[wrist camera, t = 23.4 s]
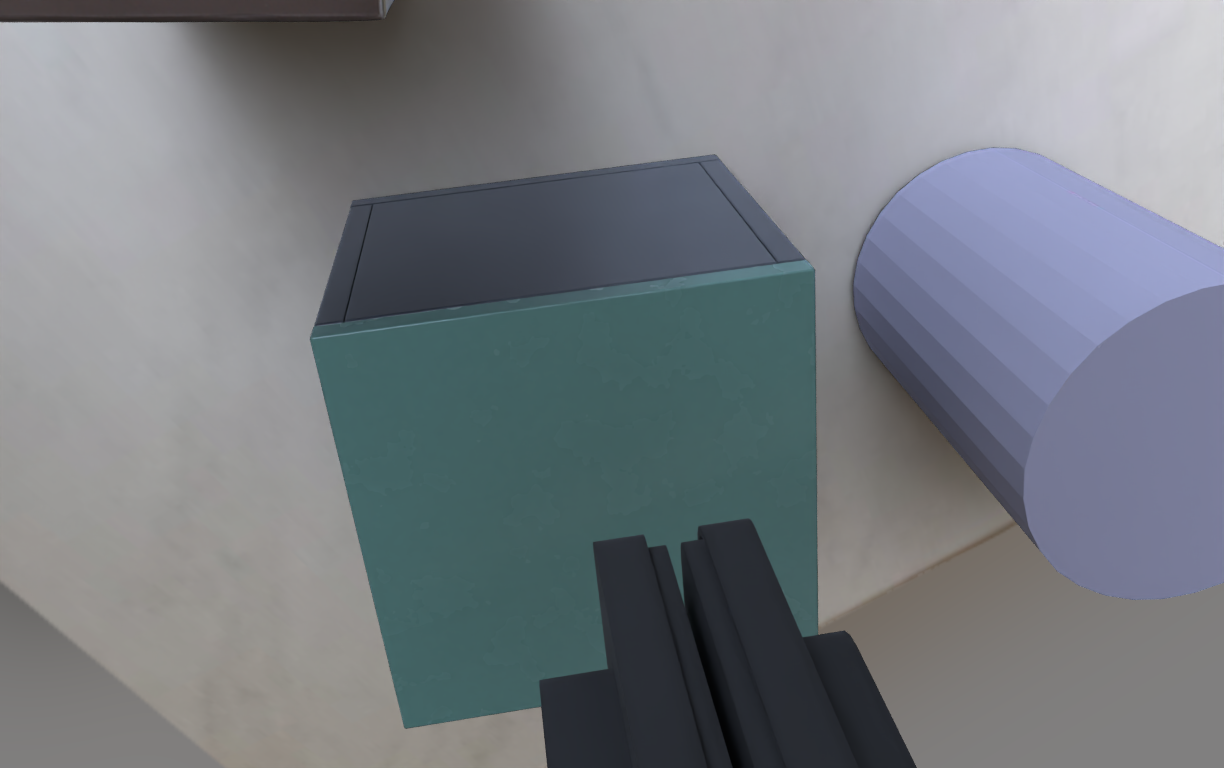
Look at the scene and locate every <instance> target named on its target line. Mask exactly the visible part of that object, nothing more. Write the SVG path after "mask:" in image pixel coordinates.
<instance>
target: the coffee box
mask: <svg viewBox="0 0 1224 768" xmlns="http://www.w3.org/2000/svg"><path fill="white" fill-rule="evenodd" d="M393 2H394V0H0V22H330V21H370V20H381V19H384V18H386V14H387V12H388V10H389V8H390V6H391V5H392V3H393Z"/></svg>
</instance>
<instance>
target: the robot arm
mask: <svg viewBox="0 0 1224 768" xmlns="http://www.w3.org/2000/svg"><path fill="white" fill-rule="evenodd" d="M697 538H698V540H694V541H688V542H682V543H681V564H682V578H683V591H684V603H683V599H682V596H681V593H680V589H679V586H678V583H677V579H676V576H675V572H674V569H673V566H672V562H671V559H670V556H669V552H668V549H667V546H666V545H662V546H655V547H649V548H648V546H647V542H646V539H645V536H644V535H643V534H642V535H636V536H629V537H623V538H616V539H609V540H603V541H596V542H593V551H594V559H595V568H596V576H597V584H598V592H599V601H600V609H601V617H602V625H603V634H604V642H605V650H606V658H607V667H608V669H604V670H598V671H592V672H586V673H580V674H573V675H567V676H561V677H555V678H549V679H543V680H539V687H540V698H541V708H542V718H543V728H544V738H545V748H546V758H547V768H917V767H916V765H915V763H914V761H913V759H912V757H911V755H910V753H909V751H908V749H907V747H906V745H905V743H904V741H903V739H902V737H901V735H900V733H899V731H898V729H897V727H896V725H895V723H894V721H893V719H892V717H891V714H890V713H889V710H888V709H887V707H886V704H885V702H884V700H883V698H882V696H881V694H880V692H879V690H878V688H877V686H876V684H875V682H874V680H873V678H872V676H871V674H870V672H869V670H868V668H867V666H866V664H865V662H864V660H863V658H862V656H861V654H860V652H859V650H858V648H857V646H856V644H855V643H854V641H853V639H852V637H851V636H850V635H849V634H848V633H847V632H845V631H839V632H834V633H827V634H820V635H814V636H808V637H802V635H801V633H800V630H799V628H798V626H797V623H796V621H795V619H794V617H793V614H792V612H791V610H790V607H789V605H788V603H787V600H786V598H785V596H784V593H783V591H782V589H781V586H780V584H779V582H778V579H777V577H776V575H775V572H774V570H773V568H772V565H771V563H770V561H769V559H768V556H767V554H766V552H765V549H764V547H763V545H762V542H761V540H760V538H759V535H758V533H757V531H756V528H755V526H754V524H753V522H752V520H751V519H749V518H747V519H740V520H734V521H727V522H721V523H714V524H708V525H701V526H699V527H698V532H697ZM684 605H685V606H684Z"/></svg>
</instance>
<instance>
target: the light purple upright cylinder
mask: <svg viewBox="0 0 1224 768" xmlns="http://www.w3.org/2000/svg"><path fill="white" fill-rule="evenodd" d="M853 287H854V308H855V312H856V316H857V320H858V324H859V328H860V330H861V332H862V334H863V336H864V338H865V339H866V341H867V343H868V345H869V347H870V348H871V350H872V351H873V352H874V353H875V354H876V356H877V357H878V358H879V359H880V360H881V362H882V363H883V364H884V365H885V366H886V367H887V369H888V370H889V371H890V372H891V373H892V375H893V376H894V377H895V378H896V379H897V381H898V382H899V383H900V384H901V385H902V387H903V388H904V389H905V390H906V391H907V393H908V394H909V395H910V396H911V397H912V399H913V400H914V401H915V402H916V403H917V405H918V406H919V407H920V408H921V409H922V410H923V412H924V413H925V414H926V415H927V416H928V418H929V419H930V420H931V421H932V422H933V424H934V425H935V426H936V427H937V428H938V430H939V431H940V432H941V433H942V434H943V436H944V437H945V438H946V439H947V440H948V442H949V443H950V444H951V445H952V446H953V448H954V449H955V450H956V451H957V452H958V453H959V455H960V456H961V457H962V458H963V459H964V461H965V462H966V463H967V464H968V465H969V467H970V468H971V469H972V470H973V471H974V473H975V474H976V475H977V476H978V477H979V479H980V480H981V481H982V482H983V483H984V485H985V486H986V487H987V488H988V489H989V491H990V492H991V493H992V494H993V495H994V496H995V498H996V499H997V500H998V501H999V502H1000V504H1001V505H1002V506H1003V507H1004V508H1005V510H1006V511H1007V512H1008V513H1009V514H1010V516H1011V517H1012V518H1013V519H1014V520H1015V522H1016V523H1017V524H1018V525H1019V526H1020V528H1021V529H1022V530H1023V531H1024V532H1025V534H1026V535H1027V536H1028V537H1029V538H1030V539H1031V541H1032V542H1033V543H1034V544H1035V545H1036V547H1037V548H1038V549H1039V550H1040V551H1041V553H1042V554H1043V555H1044V556H1045V557H1046V558H1047V560H1048V561H1049V562H1050V563H1051V565H1052V566H1053V567H1054V568H1055V569H1056V571H1058V572H1059V573H1061V574H1062V575H1064V576H1065V577H1067V578H1068V579H1070V580H1071V581H1073V582H1074V583H1076V584H1077V585H1079V586H1081V587H1084V588H1087V589H1090V590H1092V591H1095V592H1097V593H1100V594H1102V595H1106V596H1112V597H1119V598H1125V599H1132V600H1141V599H1165V598H1170V597H1176V596H1181V595H1186V594H1190V593H1195V592H1198V591H1201V590H1204V589H1207V588H1209V587H1212V586H1215V585H1218V584H1221V583H1224V248H1222V247H1220V246H1218V245H1216V244H1214V243H1212V242H1210V241H1208V240H1206V239H1204V238H1202V237H1200V236H1198V235H1196V234H1194V233H1192V232H1190V231H1189V230H1187V229H1185V228H1183V227H1181V226H1179V225H1177V224H1175V223H1173V222H1171V221H1169V220H1167V219H1165V218H1163V217H1161V216H1159V215H1157V214H1155V213H1153V212H1151V211H1149V210H1147V209H1146V208H1144V207H1142V206H1140V205H1138V204H1136V203H1134V202H1132V201H1130V200H1128V199H1126V198H1124V197H1122V196H1120V195H1118V194H1116V193H1114V192H1112V191H1110V190H1108V189H1106V188H1104V187H1102V186H1101V185H1099V184H1097V183H1095V182H1093V181H1091V180H1089V179H1087V178H1085V177H1083V176H1081V175H1079V174H1077V173H1075V172H1073V171H1071V170H1069V169H1067V168H1065V167H1063V166H1061V165H1059V164H1058V163H1056V162H1054V161H1052V160H1050V159H1048V158H1046V157H1044V156H1042V155H1040V154H1036V153H1032V152H1029V151H1025V150H1021V149H1017V148H987V149H981V150H975V151H970V152H965V153H963V154H960V155H957V156H955V157H952V158H949V159H947V160H944V161H941V162H940V163H938V164H936V165H935V166H933V167H931V168H930V169H928V170H926V171H925V172H923V173H921V174H919V175H918V176H917V177H915V178H914V179H913V180H912V181H911V182H909V183H908V184H907V185H906V186H905V187H903V188H902V189H901V190H900V191H899V192H897V193H896V195H895V196H894V197H893V198H892V199H891V201H890V202H889V203H888V204H887V205H886V207H885V208H884V209H883V210H882V211H881V213H880V214H879V216H878V218H877V219H876V221H875V223H874V224H873V226H872V228H871V229H870V231H869V233H868V234H867V236H866V239H865V241H864V244H863V247H862V249H861V252H860V255H859V257H858V260H857V266H856V272H855V277H854V283H853Z"/></svg>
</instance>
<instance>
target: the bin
mask: <svg viewBox="0 0 1224 768" xmlns="http://www.w3.org/2000/svg"><path fill="white" fill-rule="evenodd" d="M802 260H805V258H804V257H803V256H802V254H801V253H800V252H799V251H798V250H797V249H796V248H795V246H794V245H793V244H792V243H791V242H790V241H789V239H788V238H787V237H786V236H785V235H784V234H783V232H782V231H781V230H780V229H779V228H778V227H777V225H776V224H775V223H774V222H773V221H772V220H771V219H770V217H769V216H768V215H767V214H766V213H765V212H764V210H763V209H762V208H761V207H760V206H759V205H758V203H757V202H756V201H755V200H754V199H753V198H752V197H751V195H750V194H749V193H748V192H747V191H746V190H745V188H744V187H743V186H742V185H741V184H740V183H739V181H738V180H737V179H736V178H735V177H734V176H733V174H732V173H731V172H730V171H729V170H728V169H727V168H726V166H725V165H724V164H723V163H722V162H721V161H720V159H719V158H718V157H717V155H715V154H714V155H706V156H698V157H691V158H683V159H675V160H667V161H659V162H651V163H643V164H636V165H628V166H620V167H612V168H604V169H596V170H589V171H581V172H573V173H565V174H557V175H549V176H542V177H534V178H526V179H518V180H510V181H502V182H495V183H487V184H479V185H471V186H463V187H455V188H448V189H440V190H432V191H424V192H416V193H408V194H401V195H393V196H385V197H377V198H369V199H361V200H354V201H352V204H351V207H350V211H349V215H348V218H347V221H346V224H345V228H344V231H343V234H342V237H341V241H340V244H339V247H338V250H337V253H336V257H335V260H334V263H333V266H332V270H331V273H330V276H329V279H328V283H327V286H326V289H325V292H324V296H323V299H322V302H321V305H320V309H319V312H318V315H317V318H316V322H315V325H314V327H315V326H323V325H330V324H337V323H345V322H352V321H359V320H367V319H374V318H381V317H389V316H396V315H404V314H411V313H418V312H426V311H433V310H440V309H448V308H455V307H463V306H470V305H477V304H485V303H492V302H499V301H507V300H514V299H522V298H529V297H536V296H544V295H551V294H558V293H566V292H573V291H581V290H588V289H595V288H603V287H610V286H617V285H625V284H632V283H640V282H647V281H654V280H662V279H669V278H676V277H684V276H691V275H698V274H706V273H713V272H721V271H728V270H735V269H743V268H750V267H757V266H765V265H772V264H780V263H787V262H794V261H802Z"/></svg>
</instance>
